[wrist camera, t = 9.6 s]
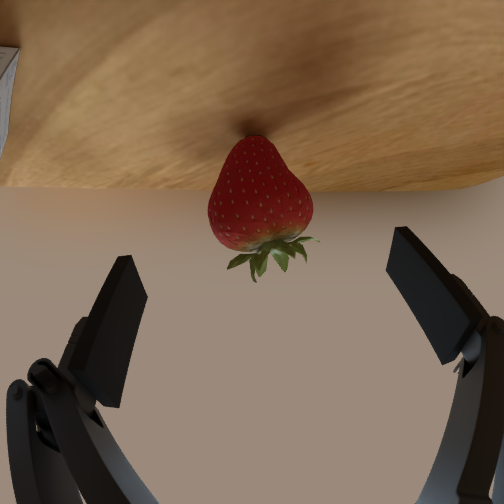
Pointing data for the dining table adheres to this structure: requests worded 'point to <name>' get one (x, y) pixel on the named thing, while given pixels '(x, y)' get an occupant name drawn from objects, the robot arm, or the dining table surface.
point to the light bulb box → (6, 88)
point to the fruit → (259, 206)
